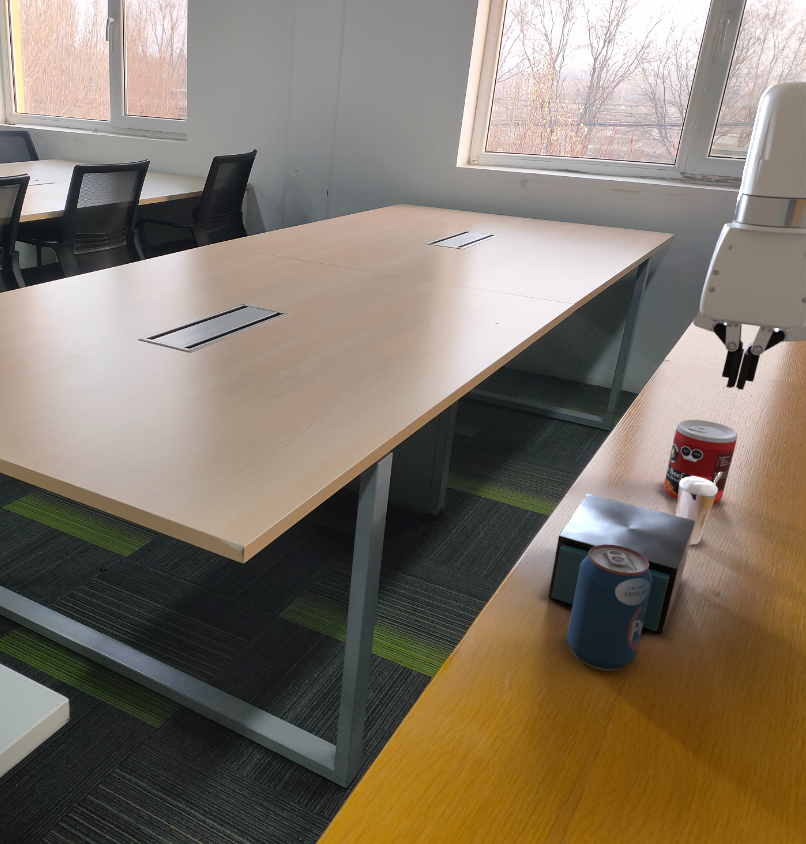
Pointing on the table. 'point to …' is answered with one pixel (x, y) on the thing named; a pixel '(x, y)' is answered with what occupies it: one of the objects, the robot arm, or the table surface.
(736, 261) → the robot arm
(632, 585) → the soda can
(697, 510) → the milkshake
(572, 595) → the drawer
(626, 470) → the table surface
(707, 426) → the canned food
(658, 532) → the cabinet
